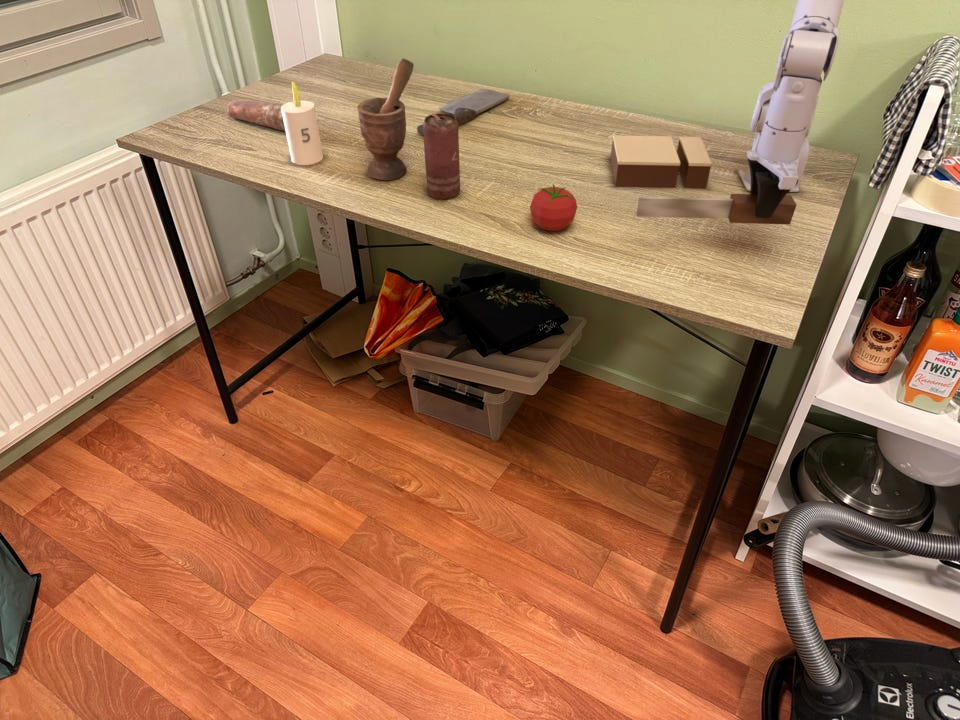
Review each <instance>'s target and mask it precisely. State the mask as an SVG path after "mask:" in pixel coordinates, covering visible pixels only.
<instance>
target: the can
mask: <svg viewBox="0 0 960 720" xmlns="http://www.w3.org/2000/svg"><path fill="white" fill-rule="evenodd" d="M422 124H423V135H422V136H423V145H424V146H423V150H424V165H425V179H426V180H425V181H426V192H427V194H428V195H429V196H430V197H431V198H433V200H434V199H435V200H438V201H448V200H453V199H455V198H456V197H457V196H458V195H459V194H460V192H461V173H460V171H461V169H460V138H459V136H460V134H459V125H458V122H457V120H456V118H455V117H454V116H453V115H452V114H451V113H447V112H438V113H431V114H429V115H427V116H425V118H424V121H423V123H422Z"/></svg>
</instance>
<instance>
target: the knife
mask: <svg viewBox="0 0 960 720" xmlns="http://www.w3.org/2000/svg"><path fill="white" fill-rule="evenodd" d="M757 197H758V194H750V193H730V197H729V198H718V197H717V198H713V197H711V198H710V197H677V196H676V197H672V196H671V197H669V196H639V197H638V202H637V209H636V214H635V215H636V217H640V218H641V217H642V218H643V217H644V218H676V219H677V218H679V219H680V218H681V219H684V218H685V219H716V220H717V219H718V220H719V219H721V220H723V219H724V220H728V221H729V223H730V224H755V225H756V224H757V225H762V224H763V225H791V223H792V220H793V217H794V214H795V211H796V207H797V203H796V201H795V199H794V197H793V196H792V194H786V195H785V197H784V198H783V199H782V200H781V202H780V203H779V205H778V206H777V208H776V210H775V211H774V213H773V214H772V216H771V217H770V218H757V217H756V203H757Z"/></svg>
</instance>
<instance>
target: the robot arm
mask: <svg viewBox="0 0 960 720" xmlns="http://www.w3.org/2000/svg"><path fill="white" fill-rule="evenodd" d="M843 6H844V0H797V1H796V5H795V9H794V11H793V12H794V13H793V15H792V20H791V24H790V27H789V31H788V32H786V33H785V35H784V36H783V37H784V38H783V41H782V45H781V49H780V51H779V56H778V60H777V63H776V66H775V77H774V80H772V81H769V82H768V83H766V84H764V85H763V87H762V88H761V89H760V91H759V95H758V97H757V99H756V102H755V107H754V110H753V114H752V118H751V121H750V125H749V129H750V130H751V131H750V132H751V133H755V134H754V140H753V141H752V142H753V143H752V147H751V149H749V150H747V153H746V156H747V165H746V167H745V168H746V169H738V170H737V174H738V175H739V178H740V181H742V184H743V186H744V189H745V190H746V191H747V192H749V194H758V197H757V203H756V217H757V218H770V217H771V216H772V214H773V213H774V211H775V210H776V208H777V206H778V205H779V203H780V202H781V200H782V199H783V198H784V197H785V195H788V193H799V192H800V188H799V186H800V184H801V180H802V178H803V175H804V172H805V168H806V165H807V163H808V160H809V156H810V140H809V138H807V137H808V136H809V134H810V131H811V128H812V125H813V122H814V118H815V114H816V111H817V106H818V102H819V93H820V90H821V88H822V84H823V82H825V81H826V80H827V78H828V76H829V75H830V72H831V70H832V66H833V63H834V61H835V58H836V55H837V50H838V46H839V37H840V33H839V31H840V28H839V27H838V26H839V22H840V18H841V14H842V9H843ZM822 73H823V74H824V75H823V79H822Z"/></svg>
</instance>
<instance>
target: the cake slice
mask: <svg viewBox="0 0 960 720" xmlns="http://www.w3.org/2000/svg"><path fill="white" fill-rule="evenodd" d="M676 152H677V154H678V157H679V160H680V168H679V173H678V175H679V177H680V179H681V182H682V186H683V188H684V189H707V186H708V182H709V176H710V174H711V173H710V172H711V169H712V164H713V163H712V161H711V159H710V156H709V154H708V151H707V150H706V147H705V144H704V142H703V139H702V138H701V136H679V138H678V144H677V147H676Z"/></svg>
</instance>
